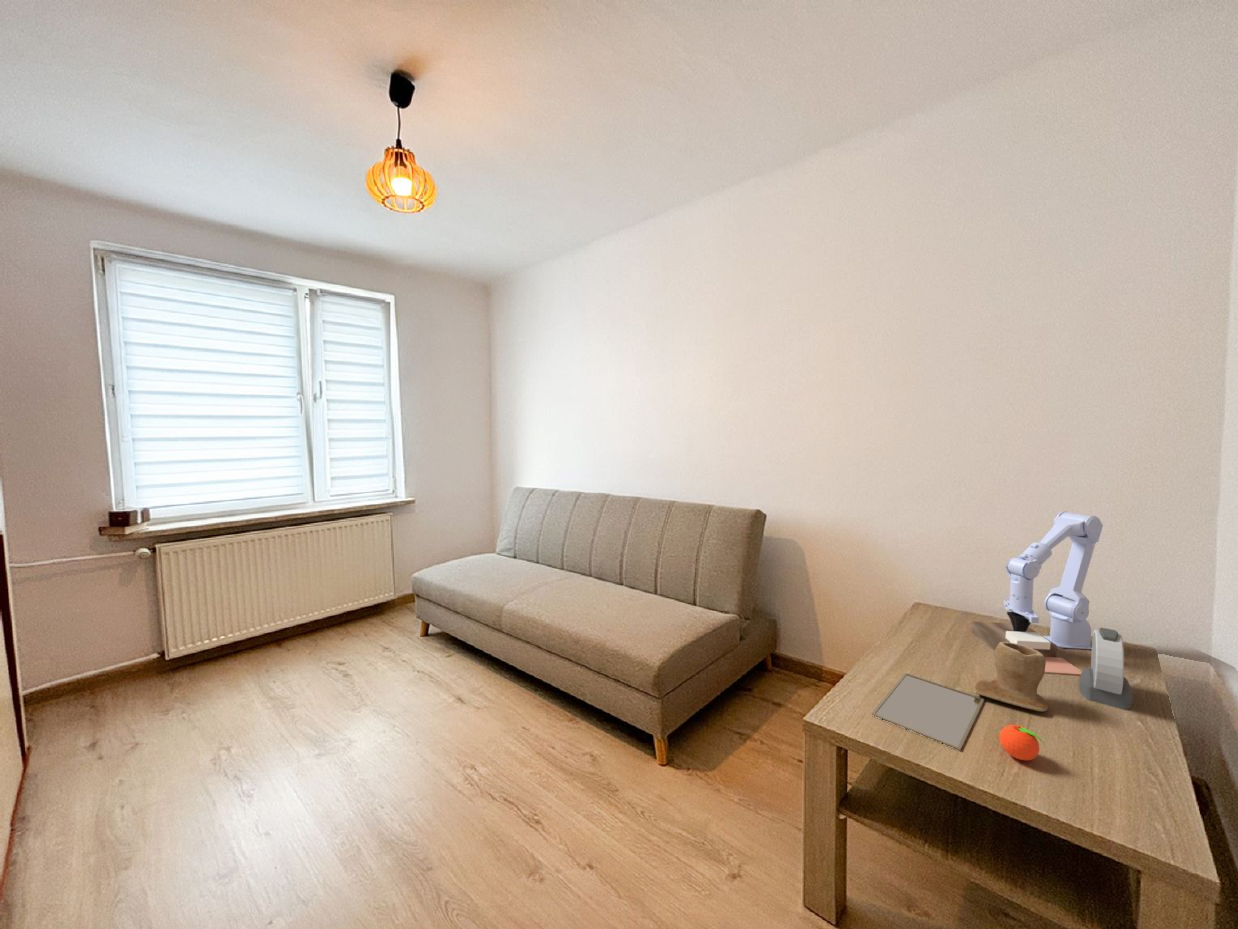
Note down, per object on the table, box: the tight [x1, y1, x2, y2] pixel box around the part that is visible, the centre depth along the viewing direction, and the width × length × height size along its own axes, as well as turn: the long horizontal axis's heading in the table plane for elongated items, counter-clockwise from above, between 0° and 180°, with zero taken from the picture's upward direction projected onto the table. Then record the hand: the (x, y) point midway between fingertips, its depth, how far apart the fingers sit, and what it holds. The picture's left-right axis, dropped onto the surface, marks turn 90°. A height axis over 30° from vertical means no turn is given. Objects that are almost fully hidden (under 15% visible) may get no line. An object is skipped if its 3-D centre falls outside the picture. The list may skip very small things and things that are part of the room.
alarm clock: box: [1078, 627, 1134, 711], centre depth 128 cm, size 16×10×18 cm, turn 137°
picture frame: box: [870, 672, 985, 752], centre depth 125 cm, size 19×1×28 cm
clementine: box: [998, 724, 1047, 761], centre depth 106 cm, size 8×7×7 cm
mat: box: [1044, 657, 1083, 676], centre depth 144 cm, size 18×10×1 cm, turn 78°
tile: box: [1005, 631, 1051, 650], centre depth 150 cm, size 9×6×2 cm, turn 78°
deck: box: [971, 621, 1057, 658], centre depth 158 cm, size 16×16×4 cm
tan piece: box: [973, 642, 1049, 712], centre depth 127 cm, size 15×12×15 cm
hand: (1019, 635), depth 154 cm, fingers closed
